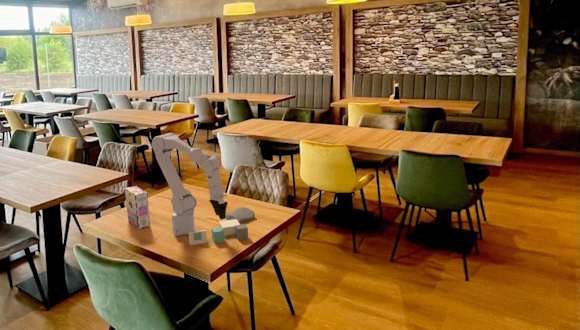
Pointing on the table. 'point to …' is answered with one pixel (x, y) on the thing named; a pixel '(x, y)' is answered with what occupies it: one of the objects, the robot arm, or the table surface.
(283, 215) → the table surface
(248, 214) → the stone block
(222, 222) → the cream base block
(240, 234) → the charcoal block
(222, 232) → the teal block
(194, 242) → the placard
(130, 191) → the candy box
